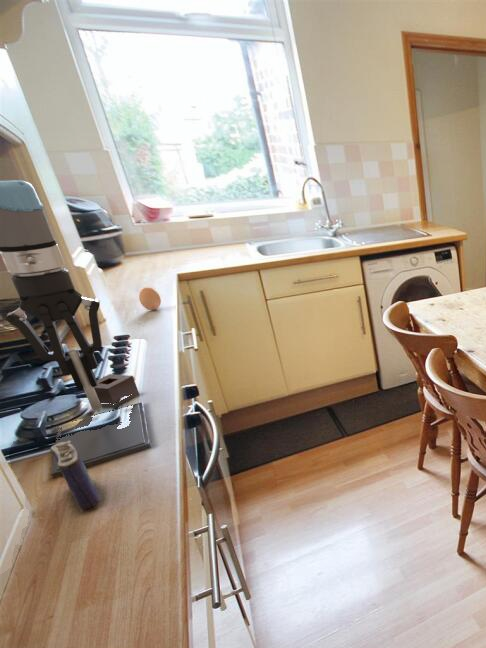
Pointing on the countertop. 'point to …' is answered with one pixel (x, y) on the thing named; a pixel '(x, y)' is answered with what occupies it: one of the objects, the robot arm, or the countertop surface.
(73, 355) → the stylus
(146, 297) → the egg
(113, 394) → the holder
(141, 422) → the plate
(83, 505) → the flask
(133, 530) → the countertop surface
